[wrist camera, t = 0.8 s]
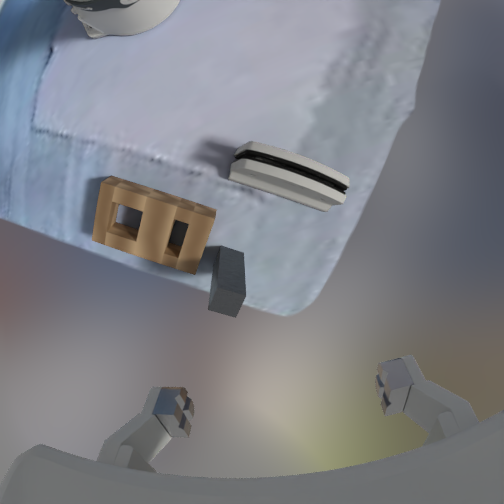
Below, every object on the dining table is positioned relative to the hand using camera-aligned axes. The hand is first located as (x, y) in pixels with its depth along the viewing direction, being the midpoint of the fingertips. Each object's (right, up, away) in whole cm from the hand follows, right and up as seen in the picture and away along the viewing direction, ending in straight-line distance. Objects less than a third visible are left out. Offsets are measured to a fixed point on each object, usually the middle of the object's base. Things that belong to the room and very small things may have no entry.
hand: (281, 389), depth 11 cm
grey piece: (+4, +18, +33) cm, 37 cm away
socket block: (-17, +11, +35) cm, 40 cm away
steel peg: (-5, +4, +39) cm, 39 cm away
